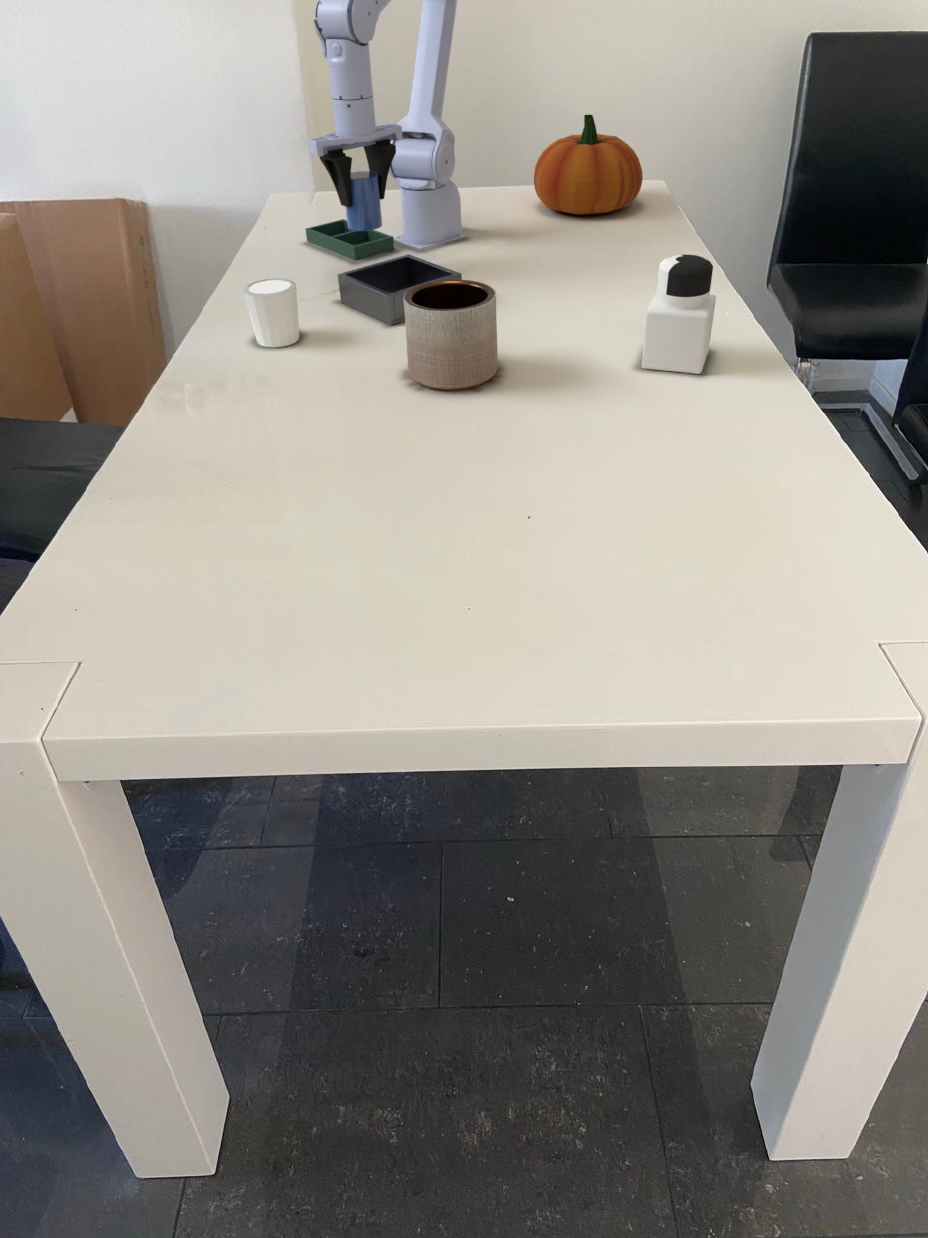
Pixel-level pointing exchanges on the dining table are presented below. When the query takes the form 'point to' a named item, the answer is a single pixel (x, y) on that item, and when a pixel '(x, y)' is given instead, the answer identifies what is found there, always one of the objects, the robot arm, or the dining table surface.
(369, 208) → the cup
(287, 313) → the white jar candle
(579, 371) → the dining table surface
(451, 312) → the planter
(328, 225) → the divided tray
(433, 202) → the robot arm
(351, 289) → the dark gray square tray
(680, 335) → the medicine bottle
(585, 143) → the pumpkin
